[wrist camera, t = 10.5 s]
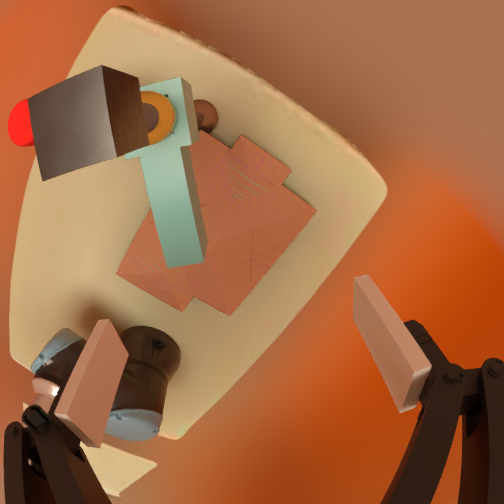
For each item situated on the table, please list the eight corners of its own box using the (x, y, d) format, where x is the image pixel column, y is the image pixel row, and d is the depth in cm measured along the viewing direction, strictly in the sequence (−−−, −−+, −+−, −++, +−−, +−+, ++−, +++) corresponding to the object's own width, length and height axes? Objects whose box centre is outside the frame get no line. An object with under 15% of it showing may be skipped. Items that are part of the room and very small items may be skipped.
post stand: (220, 132, 45) (166, 189, 9) (184, 139, 45) (28, 224, 9) (214, 97, 42) (138, 14, 6) (178, 104, 42) (0, 81, 6)
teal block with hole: (218, 238, 27) (215, 263, 23) (167, 246, 27) (155, 272, 23) (190, 85, 21) (180, 77, 17) (135, 98, 21) (114, 95, 17)
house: (321, 193, 51) (336, 206, 43) (218, 320, 61) (216, 346, 54) (212, 114, 44) (208, 114, 37) (121, 265, 54) (106, 287, 47)
